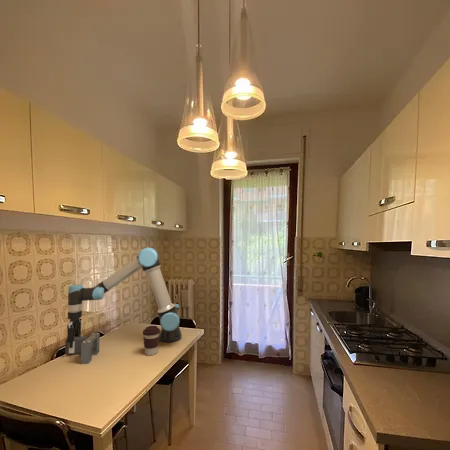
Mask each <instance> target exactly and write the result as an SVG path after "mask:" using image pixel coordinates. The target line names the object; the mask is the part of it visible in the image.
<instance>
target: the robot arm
mask: <svg viewBox="0 0 450 450" xmlns="http://www.w3.org/2000/svg"><path fill="white" fill-rule="evenodd" d="M161 266H162V264H161V261H160V255H159V251H158V250H157V249H155V248H154V247H144V248H143V249H141V250H140V252H139V253H138V255H137V256H136V257H135V259H133V261H131V262H129V263H127V264H126V265H125V266H123V267H122V268H120V269H119V270H117V271H116V272H115V273H113V274H111V275H109V276H108V277H107V278H104V280H102V281H101V282H99V283H98V284H96V285H93V287H84V286H83V284H71V285H70V286H68V290H67V297H68V298H67V306H66V307H67V319H68V320H69V324H67V325H66V328H67V330H66V332H67V333H66V336H67V337H66V338H67V339H66V340H67V342H69V353H74V346H75V341H74V337H82V335H81V334H82V317H83V301H100V300H103V299H104V296H105V294H106V293H107V292H109V291H110V290H112V289H114V288H115V287H116V286H118V285H119V284H121V283H123V281H125V280H127V279H129V277H131V276H132V275H134V274H136V273H137V272H139V271H140V270H142V271H143V272H144V273H145V274H146V276H147V278H148V281H149V284H150V288H151V290H152V293H153V295H154V298H155V302H156V304H157V307H158V310H157V315H158V318H159V323H160V328H161V329H160V333H159V341H160V342H162V343H174V342H178V341H180V340H181V339H182V335H183V334H182V331H181V329H180V321H181V320H180V304H178V303H172V300H171V296H170V294H169V290H168V288H167V286H166V282H165V279H164V276H163V274H162V271H161Z"/></svg>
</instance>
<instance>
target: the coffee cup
mask: <svg viewBox="0 0 450 450" xmlns="http://www.w3.org/2000/svg"><path fill="white" fill-rule="evenodd" d="M160 332H161V329H160V328H159V327H158V326H157V325H149V326H146V327H145V328H144V329H143V330H142V335H143V347H144V354H145V355H146V356H148V357H151V356H154V355H157V354H158V352H159V351H158V350H159V341H160V340H159V335H160Z"/></svg>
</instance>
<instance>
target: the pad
mask: <svg viewBox="0 0 450 450" xmlns="http://www.w3.org/2000/svg"><path fill="white" fill-rule="evenodd" d="M63 356H68V357H79V356H80V357H81V353H79V354H65V353H64V355H63Z"/></svg>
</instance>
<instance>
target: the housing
mask: <svg viewBox="0 0 450 450" xmlns="http://www.w3.org/2000/svg"><path fill="white" fill-rule="evenodd" d="M99 352H100V332H97V333H95V332H93V333H91V334H90V335H89V336H87V339H86V340H85V341H83V342H82V343H81V355H80V365H88V364H90V363H91V361H92V357H93V356H94V355H95V356H97V355H98V354H99Z"/></svg>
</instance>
